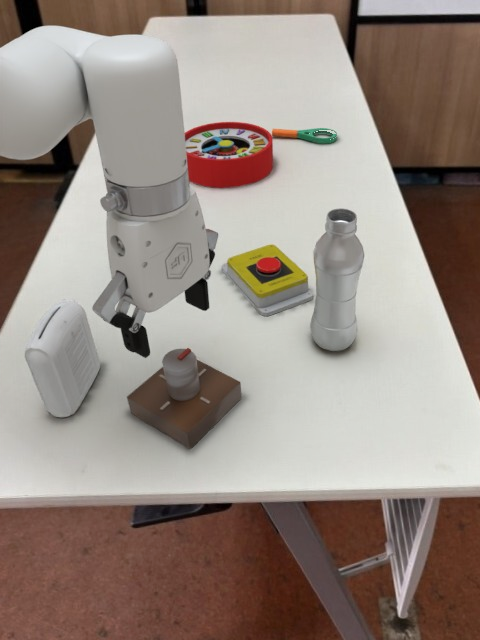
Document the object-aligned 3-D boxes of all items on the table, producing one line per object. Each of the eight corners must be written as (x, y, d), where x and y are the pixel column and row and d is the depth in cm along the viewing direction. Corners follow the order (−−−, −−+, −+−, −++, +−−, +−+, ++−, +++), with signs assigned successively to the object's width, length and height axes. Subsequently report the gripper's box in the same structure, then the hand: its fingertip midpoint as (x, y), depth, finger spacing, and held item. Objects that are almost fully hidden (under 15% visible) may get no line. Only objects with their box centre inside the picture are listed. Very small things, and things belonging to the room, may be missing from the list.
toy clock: (292, 142, 118) (210, 169, 110) (291, 169, 122) (212, 197, 114) (237, 114, 131) (160, 137, 122) (239, 139, 135) (164, 163, 126)
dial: (186, 405, 69) (181, 374, 65) (161, 392, 70) (154, 361, 67) (206, 385, 71) (202, 354, 68) (181, 373, 73) (176, 342, 69)
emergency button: (263, 294, 83) (217, 246, 92) (263, 318, 85) (219, 268, 95) (316, 275, 86) (267, 230, 96) (315, 298, 89) (267, 252, 99)
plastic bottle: (323, 362, 78) (332, 235, 65) (301, 333, 83) (304, 209, 69) (364, 349, 80) (380, 223, 67) (340, 321, 85) (351, 197, 71)
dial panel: (130, 412, 72) (126, 395, 70) (183, 367, 78) (181, 350, 76) (190, 449, 68) (187, 432, 66) (241, 398, 74) (240, 380, 71)
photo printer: (76, 360, 79) (52, 289, 71) (105, 363, 79) (84, 292, 71) (42, 416, 72) (11, 344, 64) (74, 420, 71) (47, 348, 63)
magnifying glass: (337, 133, 136) (337, 126, 134) (336, 144, 131) (336, 137, 130) (274, 131, 137) (274, 124, 136) (270, 141, 133) (270, 134, 132)
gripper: (106, 241, 46) (137, 387, 57) (238, 164, 56) (242, 301, 68) (46, 213, 49) (87, 357, 61) (181, 145, 60) (194, 279, 71)
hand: (169, 327), depth 64 cm, fingers open, 9 cm apart
